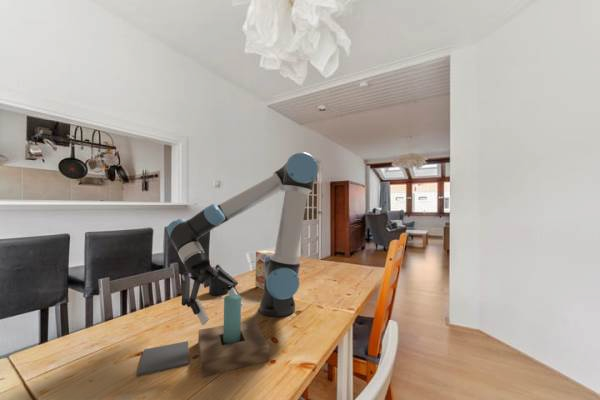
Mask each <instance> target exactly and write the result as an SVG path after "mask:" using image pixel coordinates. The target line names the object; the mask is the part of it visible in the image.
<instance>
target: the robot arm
mask: <svg viewBox="0 0 600 400" xmlns="http://www.w3.org/2000/svg"><path fill="white" fill-rule="evenodd" d="M318 173H319V165H318V162H317V160H316V159H315V158H314V155H311V154H310V153H307V152H304V151H303V152H302V151H301V152H295V154H292V155H291V156H289V158H288V159H287V162H286V163H284V165H283V166H282V167H280V168H279V169H277V170H276V171H274V172H273V173H272V176H270V177H268V178H266V179H263V180H262V181H261V182H258V183H257V184H255V185H252V186H251V187H250V188H247V189H246V190H244V191H242V192H240V193H239V194H236V195H235V196H233V197H231V198H229V199H227V200H225V201H223V202H221V203H220V204H215V203H212V204H210V205H208V206H206V207H205V208H204V209H202V210H201V211H200V212H198V213H196V214H195V215H193V216H192V217H191V218H190V219H188V220H187V219H186V218H178V219H177V220H173V221H172V222H170V223H169V224H168V225H167V227H166V231H167V235H168V236H169V240H170V241H171V243H172V244H173V246H174V249H175V250H176V252H177V254H178V256H179V259H180V261H181V262H182V264H183V266H184V268H185V270H186V271H185V272H183V274H182V275H181V276H180V280H181V283H182V287H181V302H180V303H181V305H182V306H183V307H185V306H187V308H191V310H192V313H193V314H194V315H196V316H197V318H198V320H199V322H200V324H201V325H202V326H204V325H206V323H208V321H209V320H210V318H209V316H208V314H207V313H206V310H205V309H204V307H203V305H202V303H201V300H200V299H197V298H198V293H199V290H200V287H201V285H204V284H206V283H207V284H209V282H212V283H213V282H214V283H216V284H218V285H220V286H222V287H223V288H225V289H227V290H229V292H228V293H227V295H240V294H239V291H238V290H237V288H236V286H237V285H238V284H239V281H237V280H236V279H235V278H234V277H232V276H231V275H230V274H229V273H228V272H226V271H225V270H224V269H223V268H222V267H221V265H220V264H216V265H215V266H211V262H210V259H209V257H208V255H207V254H206V252H205V250H204V248H203V246H202V245H201V243H200V242H199V239H200V238H201V237H203V236H204V235H206V234H208V233H209V232H210V231H212V230H213V229H215V228H217V227H220V226H222V225H223V224H225V223H226V222H228V221H229V220H231V219H233V218H235V217H237V216H238V215H240V214H242V213H244V212H246V211H248V210H249V209H252V208H253V207H255V206H257V205H258V204H260V203H262V202H265V201H266V200H268V199H269V198H272V197H273V196H275V195H277V194H279V193H281V192H283V193H284V196H283V197H284V198H283V204H282V209H281V215H280V220H279V226H278V234H277V237H276V243H275V244H276V245H275V249H274V252H275V253H274V254H273V255H269V256H266V257H265V262H264V264H265V271H264V290H263V294H262V296H261V300H260V303H259V312H260V314H262V315H264V316H267V317H274V318H275V317H277V318H278V317H280V316H281V317H286V315H287V316H289V314H290V315H292V314H293V313H294V312H295V311H296V303H295V299H294V296H295V294H296V293H297V292H298V290H299V287H300V278H299V273H300V266H301V261H300V259H299V258H298V253H299V247H300V241H301V235H302V229H303V223H304V217H305V210H306V206H307V204H306V203H307V200H308V195H309V194H310V193H312V192H313V188H314V180H315V179H316V178H317V175H318ZM213 276H215V277H214V278H213ZM191 280H193V284H192V289H191V290H190V288H191ZM190 291H191V292H190ZM243 305H244V303H243V300H241V307H242V306H243ZM291 313H292V314H291Z"/></svg>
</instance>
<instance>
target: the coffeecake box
mask: <svg viewBox="0 0 600 400" xmlns="http://www.w3.org/2000/svg"><path fill="white" fill-rule="evenodd" d="M274 253H275V251H271V250H268V249H267V250H266V249H263V250H257V251H255V286H256V287H259V288H258V289H260V288H262V289H261V290H263V289H264V271H265V264H264V262H265V257H266V256H269V255H273V254H274ZM256 287H255V288H256Z"/></svg>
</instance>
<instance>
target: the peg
mask: <svg viewBox="0 0 600 400" xmlns="http://www.w3.org/2000/svg"><path fill="white" fill-rule="evenodd" d="M241 301H242V296H241V295H240V294H239V295H229V294H227V295H226V296H224V298H223V326H224V332H223V345H226V344H231V343H236V342H240V334H241V322H242V319H241V318H242V306H241Z"/></svg>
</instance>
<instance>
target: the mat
mask: <svg viewBox="0 0 600 400" xmlns="http://www.w3.org/2000/svg"><path fill="white" fill-rule="evenodd" d="M183 366H189V340H187V341H181V342H175V343H171V344H165V345H161V346H155V347H154V346H153V347H150V348H145V349H143V351H142V356H141V359H140V362H139V365H138V370H137V372H136V377H139V376H143V375H147V374H152V373H157V372H161V371H165V370H169V369H175V368H180V367H183Z"/></svg>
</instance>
